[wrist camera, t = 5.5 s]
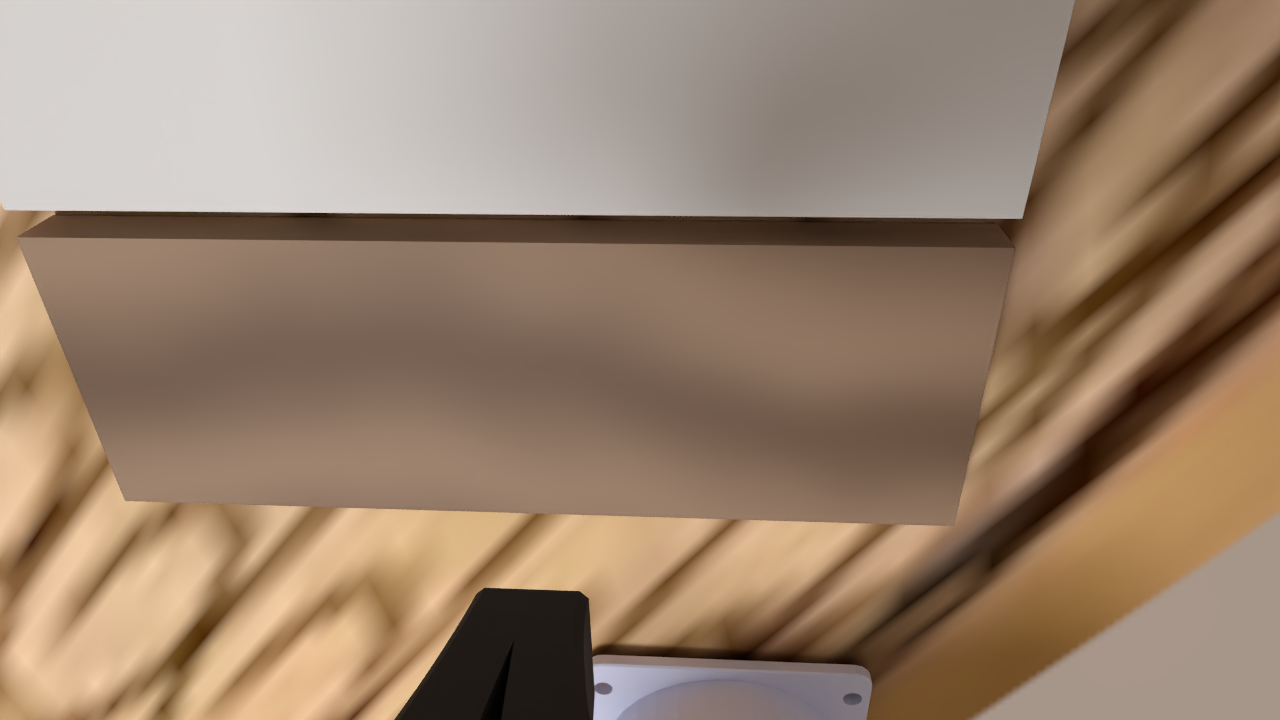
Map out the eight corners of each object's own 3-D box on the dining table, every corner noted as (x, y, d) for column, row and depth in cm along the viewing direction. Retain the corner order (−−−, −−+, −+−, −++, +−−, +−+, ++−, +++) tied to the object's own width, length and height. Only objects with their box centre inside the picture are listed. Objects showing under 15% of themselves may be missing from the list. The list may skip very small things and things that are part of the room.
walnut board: (941, 492, 22) (954, 526, 20) (151, 470, 23) (125, 500, 22) (997, 223, 18) (1015, 247, 17) (53, 215, 19) (16, 237, 18)
